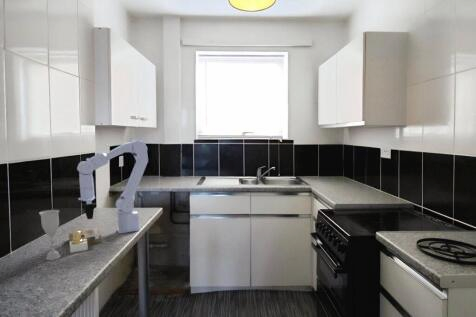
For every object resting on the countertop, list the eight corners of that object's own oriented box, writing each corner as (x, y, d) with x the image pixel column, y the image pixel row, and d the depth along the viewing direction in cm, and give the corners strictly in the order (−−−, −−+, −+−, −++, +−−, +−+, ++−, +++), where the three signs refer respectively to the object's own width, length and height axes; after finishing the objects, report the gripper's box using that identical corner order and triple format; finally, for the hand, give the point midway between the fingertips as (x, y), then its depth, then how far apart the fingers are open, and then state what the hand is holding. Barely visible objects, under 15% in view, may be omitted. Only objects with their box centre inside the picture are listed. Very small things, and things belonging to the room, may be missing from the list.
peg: (83, 245, 152) (82, 229, 151) (84, 248, 148) (83, 231, 147) (71, 247, 150) (70, 231, 149) (72, 250, 146) (70, 233, 145)
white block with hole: (86, 245, 153) (86, 238, 153) (87, 249, 148) (87, 242, 147) (70, 248, 150) (69, 241, 150) (70, 252, 145) (69, 245, 145)
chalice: (67, 255, 142) (63, 210, 141) (53, 261, 136) (49, 214, 134) (53, 253, 144) (49, 209, 143) (38, 260, 138) (34, 213, 137)
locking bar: (96, 232, 162) (96, 228, 161) (99, 238, 152) (98, 234, 152) (83, 234, 159) (83, 230, 159) (85, 240, 149) (84, 236, 149)
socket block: (98, 235, 169) (98, 228, 168) (101, 242, 157) (101, 235, 157) (69, 239, 163) (68, 233, 163) (70, 247, 152) (69, 240, 151)
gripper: (76, 186, 168) (79, 215, 169) (78, 190, 155) (80, 221, 156) (93, 185, 171) (95, 213, 172) (95, 188, 158) (98, 219, 159)
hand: (89, 217), depth 165 cm, fingers open, 7 cm apart
